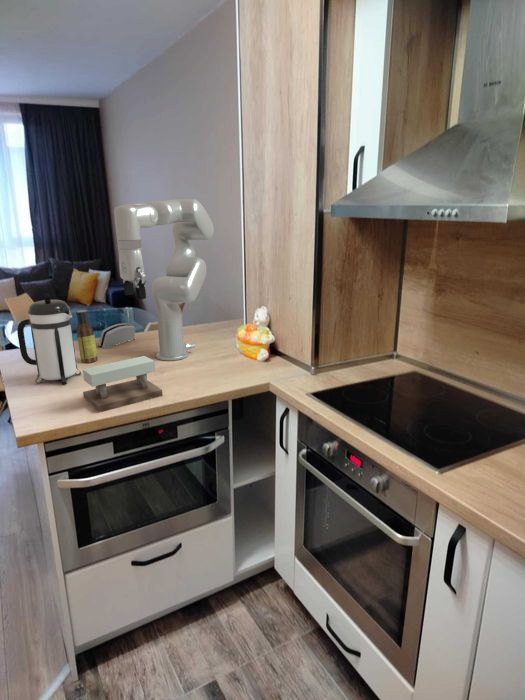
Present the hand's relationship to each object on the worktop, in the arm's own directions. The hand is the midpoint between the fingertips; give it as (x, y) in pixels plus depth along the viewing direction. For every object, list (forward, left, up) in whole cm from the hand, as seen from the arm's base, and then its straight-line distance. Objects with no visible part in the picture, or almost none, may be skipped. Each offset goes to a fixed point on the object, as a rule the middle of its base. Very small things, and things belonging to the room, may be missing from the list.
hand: (135, 296), depth 158 cm
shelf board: (+14, +16, -21) cm, 30 cm away
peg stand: (+13, +16, -28) cm, 35 cm away
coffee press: (+26, -14, -28) cm, 41 cm away
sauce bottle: (+10, -27, -28) cm, 40 cm away
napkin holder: (-8, -44, -28) cm, 53 cm away
